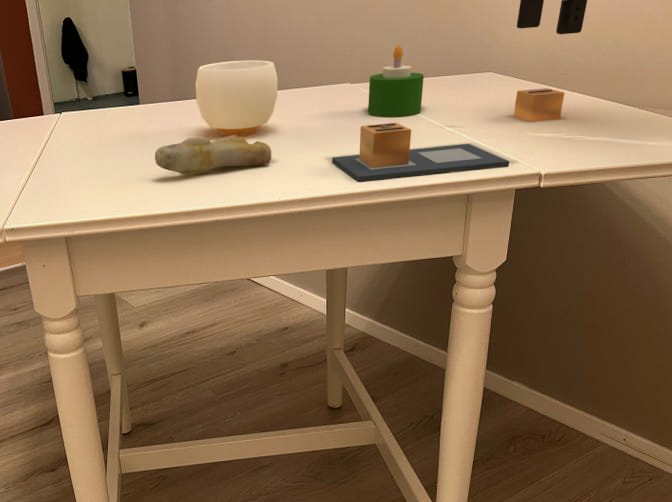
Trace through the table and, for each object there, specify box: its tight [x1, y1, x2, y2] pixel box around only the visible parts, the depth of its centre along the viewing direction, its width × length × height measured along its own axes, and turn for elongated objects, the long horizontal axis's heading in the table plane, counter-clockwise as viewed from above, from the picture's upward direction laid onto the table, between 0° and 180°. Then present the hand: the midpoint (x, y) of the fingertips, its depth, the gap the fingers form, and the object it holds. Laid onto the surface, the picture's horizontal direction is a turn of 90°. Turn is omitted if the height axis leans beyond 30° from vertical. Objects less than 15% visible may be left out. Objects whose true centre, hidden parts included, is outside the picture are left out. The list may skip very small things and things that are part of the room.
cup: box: [195, 59, 278, 137], centre depth 107 cm, size 12×12×10 cm
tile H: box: [358, 122, 412, 168], centre depth 84 cm, size 4×4×4 cm
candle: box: [367, 44, 425, 118], centre depth 113 cm, size 8×8×10 cm
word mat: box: [331, 143, 510, 183], centre depth 85 cm, size 18×10×1 cm, turn 97°
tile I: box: [513, 87, 565, 123], centre depth 101 cm, size 4×4×4 cm
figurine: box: [154, 135, 272, 176], centre depth 89 cm, size 5×5×15 cm
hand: (547, 30), depth 97 cm, fingers open, 9 cm apart
